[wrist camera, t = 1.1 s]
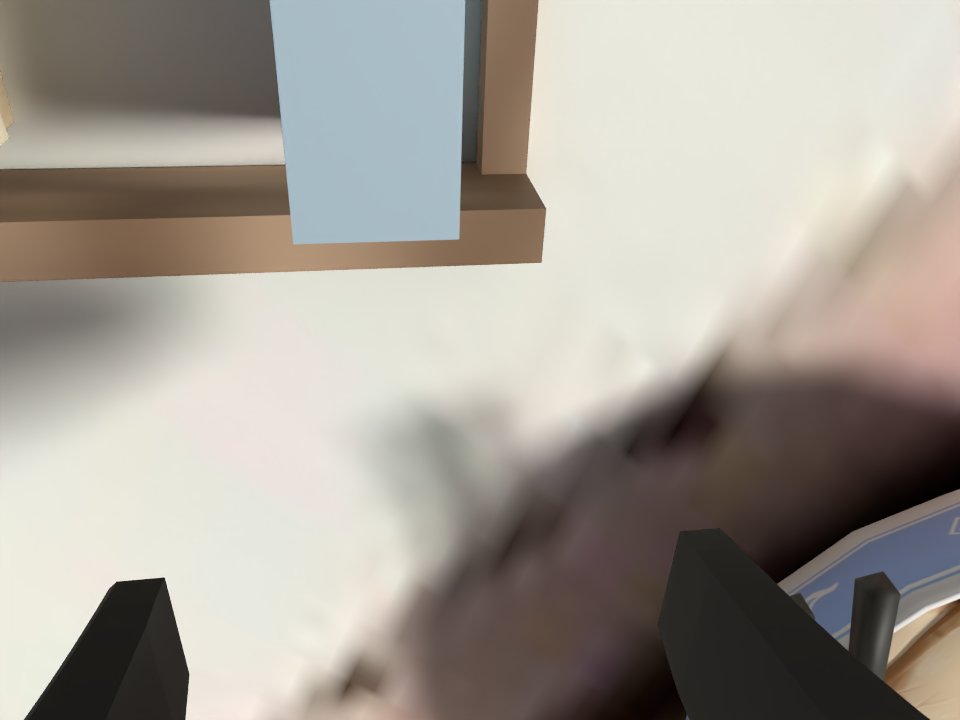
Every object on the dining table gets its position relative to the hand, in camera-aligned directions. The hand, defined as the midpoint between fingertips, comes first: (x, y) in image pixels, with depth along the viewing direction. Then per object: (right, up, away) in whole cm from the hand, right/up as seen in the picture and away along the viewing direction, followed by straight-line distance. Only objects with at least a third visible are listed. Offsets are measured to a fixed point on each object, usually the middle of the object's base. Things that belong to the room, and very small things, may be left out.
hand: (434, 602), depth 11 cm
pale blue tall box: (-2, +12, +4) cm, 13 cm away
